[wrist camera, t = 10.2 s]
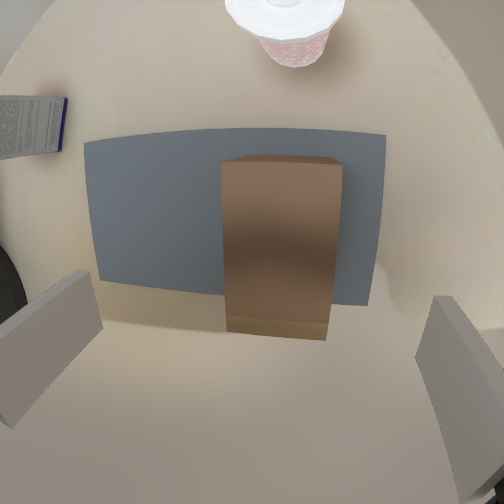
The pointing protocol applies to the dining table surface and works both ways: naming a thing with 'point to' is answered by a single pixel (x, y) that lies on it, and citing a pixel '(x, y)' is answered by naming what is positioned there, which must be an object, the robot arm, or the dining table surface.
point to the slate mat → (217, 203)
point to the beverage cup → (288, 26)
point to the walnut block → (280, 243)
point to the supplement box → (30, 125)
